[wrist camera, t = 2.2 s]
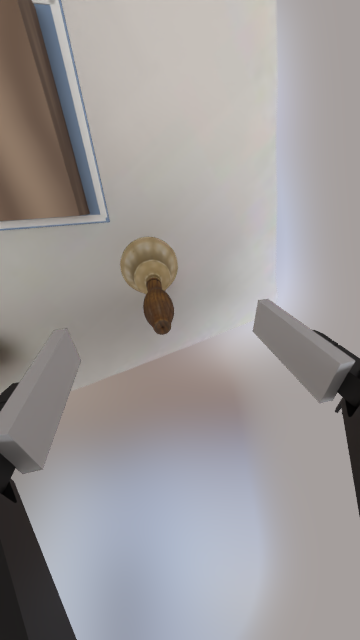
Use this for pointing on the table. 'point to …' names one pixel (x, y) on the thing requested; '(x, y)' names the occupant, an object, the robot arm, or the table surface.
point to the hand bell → (151, 278)
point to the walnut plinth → (32, 126)
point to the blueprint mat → (68, 119)
